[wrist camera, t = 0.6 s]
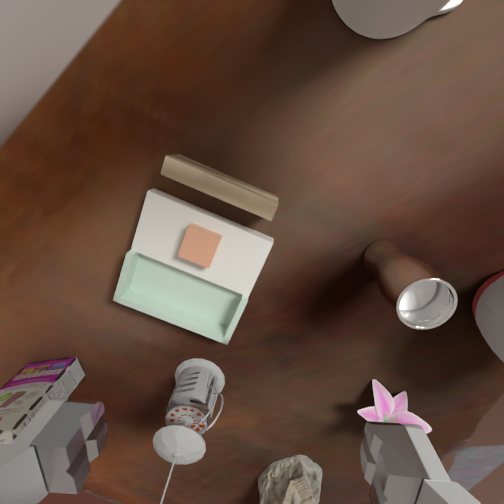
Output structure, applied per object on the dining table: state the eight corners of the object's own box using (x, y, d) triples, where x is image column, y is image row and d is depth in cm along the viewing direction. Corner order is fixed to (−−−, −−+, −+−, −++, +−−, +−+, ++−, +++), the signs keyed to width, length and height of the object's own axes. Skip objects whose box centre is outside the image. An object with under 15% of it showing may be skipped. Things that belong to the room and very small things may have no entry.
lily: (421, 409, 60) (452, 429, 50) (381, 456, 58) (405, 486, 49) (373, 363, 61) (395, 374, 52) (334, 409, 60) (348, 428, 50)
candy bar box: (38, 382, 62) (-39, 462, 47) (27, 362, 61) (-57, 438, 45) (88, 376, 61) (25, 455, 46) (78, 355, 59) (9, 430, 44)
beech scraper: (178, 153, 45) (165, 155, 40) (278, 196, 47) (278, 204, 41) (173, 169, 46) (160, 174, 41) (271, 211, 47) (271, 221, 42)
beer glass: (356, 275, 50) (388, 328, 36) (364, 234, 47) (402, 273, 33) (399, 279, 50) (449, 334, 36) (410, 238, 47) (468, 279, 33)
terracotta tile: (191, 222, 46) (188, 226, 44) (222, 235, 46) (220, 239, 45) (181, 251, 48) (177, 256, 46) (211, 263, 48) (208, 268, 46)
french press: (164, 372, 59) (92, 524, 36) (211, 345, 56) (167, 491, 33) (195, 406, 62) (147, 569, 38) (242, 382, 59) (221, 542, 35)
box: (137, 244, 51) (126, 252, 47) (249, 289, 52) (247, 301, 48) (124, 289, 54) (112, 300, 50) (230, 331, 55) (227, 344, 51)
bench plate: (154, 188, 47) (147, 190, 45) (273, 238, 49) (273, 243, 46) (137, 244, 51) (130, 249, 48) (249, 289, 52) (248, 296, 50)
